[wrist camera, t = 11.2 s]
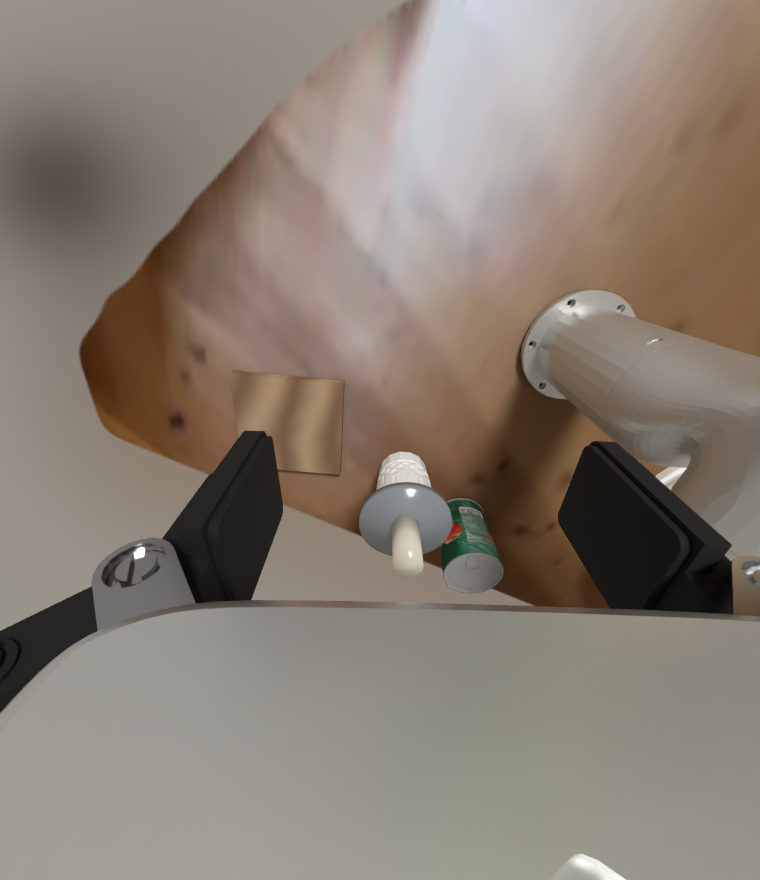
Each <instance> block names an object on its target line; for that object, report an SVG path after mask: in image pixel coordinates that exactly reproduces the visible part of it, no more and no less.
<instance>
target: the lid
mask: <svg viewBox="0 0 760 880" xmlns="http://www.w3.org/2000/svg"><path fill="white" fill-rule="evenodd" d="M359 528H360V532H361V534H362V536H363V538H364V540H365V541H366V542H367V543H368V544H369V545H370V546H371V547H373V548H374V549H376V550H378V551H379V552H381V553H384V554H387V555H391V556H393V570H394V572H395V573H396V574H397V575H399V576H402V577H414V576H417V575H419V574H420V573H421V572H422V571H423V569H424V564H423V554H426V553H429V552H431V551H433V550H434V549H436V548H438V547H439V546H440V545H441V544H442V543H443V542H444V541H445V540H446V539H447V537H448V536H449V534H450V532H451V529H452V516H451V512H450V508H449V505H448V503H447V501H446V500H445V498H444V497H443V496H442V495H441V494H440V493H439V492H437V491H436V490H434V489H433V488H431V487H429V486H426V485H423V484H419V483H413V482H399V483H393V484H389V485H386V486H384V487H381V488H379V489H378V490H376V491H374V492H373V493H372V494H371V495H370V496H369V497H368V498H367V499H366V500H365V502H364V503H363V505H362V508H361V511H360V518H359Z"/></svg>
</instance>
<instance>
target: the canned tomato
mask: <svg viewBox="0 0 760 880" xmlns="http://www.w3.org/2000/svg"><path fill="white" fill-rule="evenodd" d="M447 503H448V505H449V508H450V512H451V516H452V529H451V532H450V534H449V536H448V537H447V539H446V540H445V541H444V542H443V543H442V544H441V545H440V546H439V552H440V558H441V564H442V570H443V578H444V581H445V583H446V584H447V585H448V586H449V587H450V588H451V589H453V590H455V591H458V592H462V593H479V592H483V591H486V590H489V589H491V588H492V587H494V586H495V585H497V584H498V583H499V582H500V580H501V579H502V577H503V574H504V569H503V565H502V564H501V561H500V558H499V555H498V552H497V549H496V546H495V544H494V541H493V538H492V535H491V532H490V529H489V526H488V524H487V521H486V518H485V515H484V512H483V509H482V507H481V506H480V505H479V504H478V503H477V502H475V501H473V500H471V499H467V498H456V499H451V500H449V501H447Z"/></svg>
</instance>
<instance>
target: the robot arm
mask: <svg viewBox="0 0 760 880" xmlns="http://www.w3.org/2000/svg"><path fill="white" fill-rule="evenodd" d="M569 300H570V303H569V304H567V303H568V301H569ZM617 307H618V308H617ZM531 341H532V343H531V344H530V345H529V343H530V342H531ZM521 366H522V369H523V373H524V375H525V377H526V379H527V381H528V382H529V383H530V384H531V385H532V386H533V387H534V388H535V389H536V390H537V391H538V392H540V393H542V394H544V395H545V396H548V397H551V398H555V399H568V400H569V401H570V402H571V403H572V404H573V405H574V406H575V407H576V408H578V409H579V410H580V411H581V412H582V413H583V414H584V415H585V416H586V417H588V418H589V419H590V420H591V421H592V422H593V423H594V424H595V425H596V426H597V427H599V428H600V429H601V430H602V431H603V432H604V433H605V434H606V435H607V436H609V437H610V438H611V439H612V440H613V441H614V442H602V441H594V442H592V443H591V444H590V445H589V446H586V447H585V448H584V449H583V451H582V454H581V457H580V459H579V462H578V464H577V467H576V469H575V472H574V475H573V477H572V480H571V482H570V485H569V487H568V490H567V493H566V495H565V498H564V500H563V503H562V505H561V508H560V511H559V514H558V521H559V524H560V526H561V528H562V530H563V531H564V533H565V535H566V536H567V538H568V540H569V541H570V543H571V545H572V546H573V548H574V550H575V551H576V553H577V554H578V556H579V558H580V559H581V561H582V563H583V564H584V566H585V568H586V569H587V571H588V573H589V574H590V576H591V578H592V579H593V581H594V583H595V584H596V586H597V588H598V589H599V591H600V592H601V594H602V596H603V597H604V599H605V601H606V602H607V604H608V606H609V607H610V609H601V608H572V607H542V606H508V605H473V604H437V603H396V602H395V603H394V602H352V601H288V600H287V601H286V600H284V601H283V600H280V601H279V600H277V601H276V600H251V599H252V596H253V593H254V591H255V588H256V585H257V582H258V579H259V577H260V574H261V572H262V569H263V566H264V563H265V561H266V558H267V555H268V552H269V550H270V547H271V544H272V542H273V539H274V536H275V534H276V531H277V528H278V525H279V523H280V520H281V517H282V513H283V503H282V496H281V489H280V483H279V476H278V470H277V463H276V456H275V450H274V443H273V438H272V437H271V436H267V435H266V432H264V431H244V432H243V433H242V434H241V435H240V437H239V438H238V440H237V441H236V442H235V444H234V445H233V446H232V448H231V449H230V451H229V452H228V453H227V455H226V456H225V457H224V459H223V460H222V462H221V463H220V464H219V466H218V467H217V468H216V470H215V471H214V473H212V474H210V475H209V476H208V477H207V479H206V480H205V481H204V483H203V484H202V485H201V487H200V488H199V489H198V491H197V492H196V493H195V495H194V496H193V498H192V499H191V500H190V502H189V503H188V504H187V506H186V507H185V508H184V510H183V511H182V512H181V514H180V515H179V517H178V518H177V519H176V521H175V522H174V523H173V525H172V526H171V528H170V529H169V530H168V531H167V533H166V534H165V536H164V537H163V538H162V539H160V538H147V539H141V540H137V541H134V542H131V543H128V544H126V545H124V546H122V547H121V548H118V549H117V550H115V551H114V552H112V553H111V554H110V555H108V556H107V557H106V558H105V559H104V560H103V561H102V562H101V563H100V564H99V565H98V566H97V568H96V570H95V572H94V573H93V577H92V587H90V588H88V589H86V590H83V591H81V592H79V593H77V594H75V595H73V596H72V597H69V598H67V599H65V600H63V601H61V602H59V603H57V604H55V605H53V606H51V607H49V608H47V609H44V610H43V611H40V612H38V613H36V614H34V615H32V616H30V617H28V618H26V619H24V620H22V621H20V622H18V623H16V624H14V625H12V626H10V627H8V628H6V629H4V630H2V631H0V880H760V357H757V356H753V355H750V354H746V353H742V352H739V351H735V350H732V349H729V348H726V347H723V346H720V345H717V344H714V343H710V342H707V341H704V340H701V339H698V338H695V337H692V336H689V335H686V334H683V333H680V332H677V331H674V330H671V329H667V328H664V327H661V326H658V325H655V324H652V323H649V322H646V321H643V320H640V319H637V318H636V317H635V314H634V311H633V310H632V308H631V307H630V305H629V304H628V303H627V302H626V301H625V300H624V299H623V298H621V297H620V296H618V295H615V294H613V293H611V292H607V291H603V290H594V289H591V290H581V291H577V292H574V293H570V294H568V295H566V296H564V297H562V298H560V299H558V300H556V301H555V302H553V303H552V304H551V305H549V306H548V307H547V308H546V309H545V310H544V311H542V312H541V313H540V314H539V315H538V317H537V318H536V319H535V321H534V322H533V323H532V324H531V326H530V328H529V330H528V332H527V333H526V336H525V339H524V341H523V344H522V350H521ZM540 383H541V384H540ZM539 384H540V385H539ZM631 455H632V456H631ZM633 456H634V457H636V458H638V459H640V460H642V461H645V462H648V463H652V464H656V465H660V466H668V467H678V468H686V470H685V471H684V472H683V474H682V475H681V476H680V478H679V479H678V480H677V481H676V483H675V484H674V485H673V486H672V489H671V490H670V489H669V488H667V487H666V486H665V485H664V484H663V483H662V482H661V481H660V480H658V479H657V478H656V477H655V476H654V475H653V474H652V473H651V472H649V471H648V470H647V469H646V468H645V467H644V466H643V465H642V464H640V463H639V462H638V461H637V460H636V459H635V458H634V457H633Z"/></svg>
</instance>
